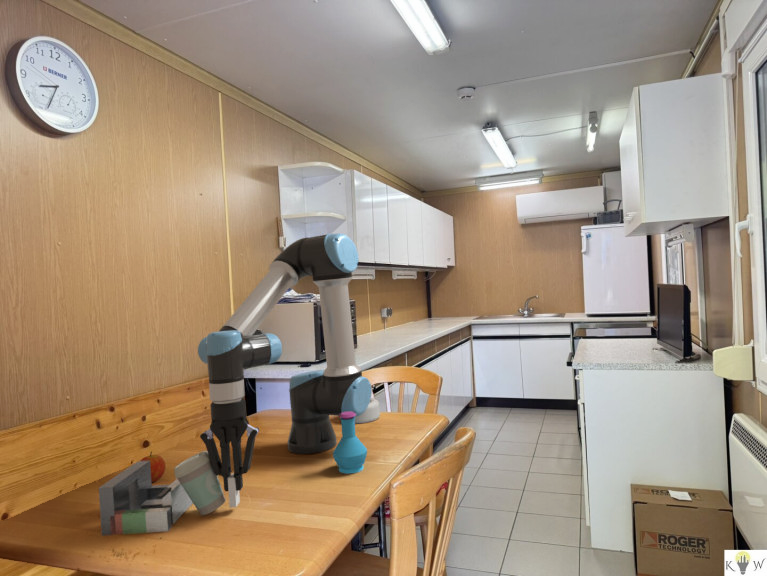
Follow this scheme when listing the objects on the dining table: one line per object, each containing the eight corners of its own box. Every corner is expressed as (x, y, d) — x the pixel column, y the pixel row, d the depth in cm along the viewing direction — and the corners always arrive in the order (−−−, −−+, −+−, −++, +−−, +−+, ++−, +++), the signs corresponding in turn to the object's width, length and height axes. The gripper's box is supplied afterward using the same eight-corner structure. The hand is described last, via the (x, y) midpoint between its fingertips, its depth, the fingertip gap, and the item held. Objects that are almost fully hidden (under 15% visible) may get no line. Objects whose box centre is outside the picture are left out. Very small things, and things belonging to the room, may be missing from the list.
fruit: (147, 488, 129) (145, 457, 129) (132, 484, 133) (130, 454, 133) (171, 478, 135) (169, 449, 135) (156, 475, 139) (154, 446, 139)
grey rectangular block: (193, 502, 117) (191, 471, 117) (166, 531, 103) (164, 495, 103) (155, 504, 118) (153, 473, 118) (124, 533, 104) (121, 498, 104)
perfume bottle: (373, 463, 136) (369, 409, 136) (360, 476, 127) (356, 417, 127) (342, 462, 139) (338, 408, 139) (328, 474, 130) (324, 417, 130)
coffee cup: (219, 511, 107) (195, 461, 107) (187, 524, 108) (163, 474, 108) (238, 491, 115) (215, 445, 115) (208, 504, 117) (185, 458, 117)
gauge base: (197, 499, 120) (195, 457, 120) (167, 531, 104) (164, 483, 104) (140, 502, 120) (137, 461, 120) (101, 535, 104) (98, 487, 104)
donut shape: (342, 426, 176) (341, 408, 176) (337, 416, 191) (336, 399, 191) (383, 421, 179) (382, 403, 179) (376, 412, 194) (375, 395, 194)
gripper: (260, 394, 115) (267, 495, 115) (205, 398, 116) (211, 499, 115) (251, 401, 108) (259, 510, 108) (192, 405, 108) (199, 514, 108)
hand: (234, 504), depth 112 cm, fingers closed
